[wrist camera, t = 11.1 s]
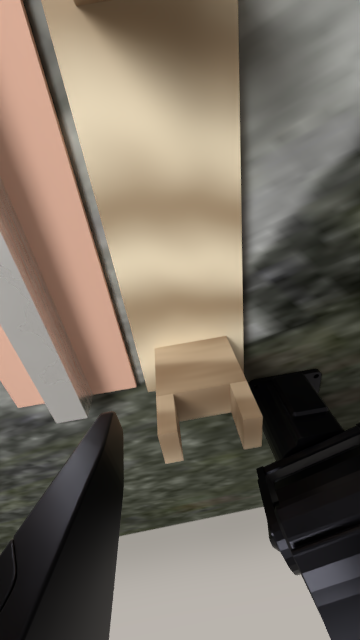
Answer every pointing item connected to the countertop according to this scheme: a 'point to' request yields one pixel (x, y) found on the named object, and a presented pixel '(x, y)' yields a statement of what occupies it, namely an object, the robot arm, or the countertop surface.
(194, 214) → the hook stand
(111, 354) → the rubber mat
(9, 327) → the steel rail
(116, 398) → the countertop surface
